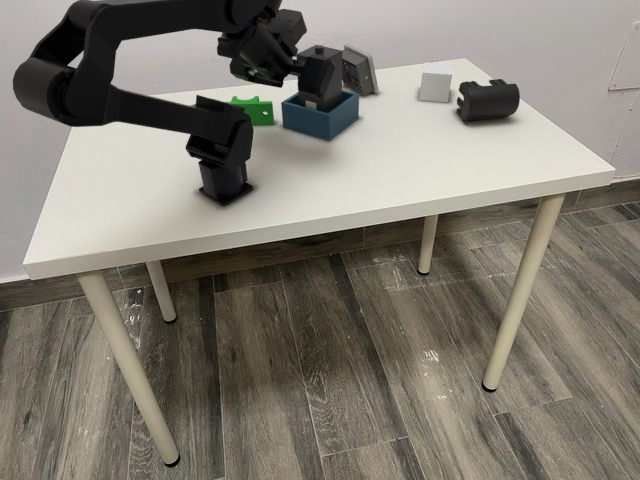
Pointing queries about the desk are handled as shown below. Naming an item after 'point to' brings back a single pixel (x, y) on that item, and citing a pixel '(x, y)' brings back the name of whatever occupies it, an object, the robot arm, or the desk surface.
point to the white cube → (436, 82)
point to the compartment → (320, 116)
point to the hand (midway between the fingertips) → (302, 90)
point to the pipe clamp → (256, 110)
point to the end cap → (487, 100)
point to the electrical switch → (358, 70)
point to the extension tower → (335, 86)
